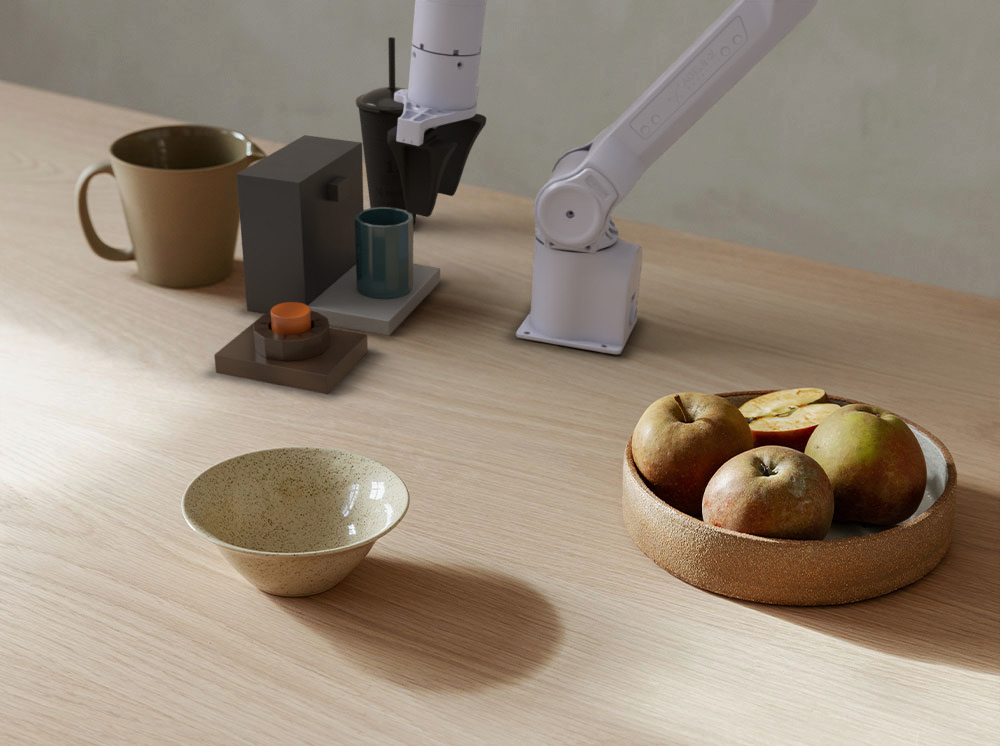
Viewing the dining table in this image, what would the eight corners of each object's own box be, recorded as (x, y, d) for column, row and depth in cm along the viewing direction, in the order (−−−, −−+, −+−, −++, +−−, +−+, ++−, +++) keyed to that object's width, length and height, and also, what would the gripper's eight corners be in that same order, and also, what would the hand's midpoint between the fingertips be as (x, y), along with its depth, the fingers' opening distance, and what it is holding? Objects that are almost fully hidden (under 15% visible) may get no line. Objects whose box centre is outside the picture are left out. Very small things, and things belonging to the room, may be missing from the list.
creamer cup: (421, 281, 104) (421, 211, 101) (399, 303, 100) (399, 230, 97) (370, 273, 106) (369, 203, 102) (347, 294, 101) (345, 222, 98)
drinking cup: (349, 215, 124) (344, 32, 114) (413, 207, 127) (413, 28, 117) (372, 238, 118) (368, 47, 108) (438, 230, 121) (440, 43, 111)
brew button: (317, 324, 92) (317, 305, 91) (300, 340, 89) (299, 320, 88) (283, 318, 93) (282, 299, 92) (264, 333, 90) (263, 314, 89)
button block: (368, 352, 94) (367, 314, 93) (327, 394, 88) (325, 355, 86) (262, 333, 97) (260, 296, 95) (215, 372, 90) (212, 334, 89)
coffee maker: (440, 282, 108) (441, 152, 102) (389, 336, 97) (387, 195, 91) (310, 261, 112) (304, 134, 106) (246, 311, 101) (236, 173, 95)
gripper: (432, 24, 98) (418, 170, 104) (366, 54, 85) (355, 218, 92) (507, 38, 96) (489, 186, 103) (451, 72, 84) (434, 237, 91)
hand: (431, 203), depth 97 cm, fingers open, 5 cm apart
